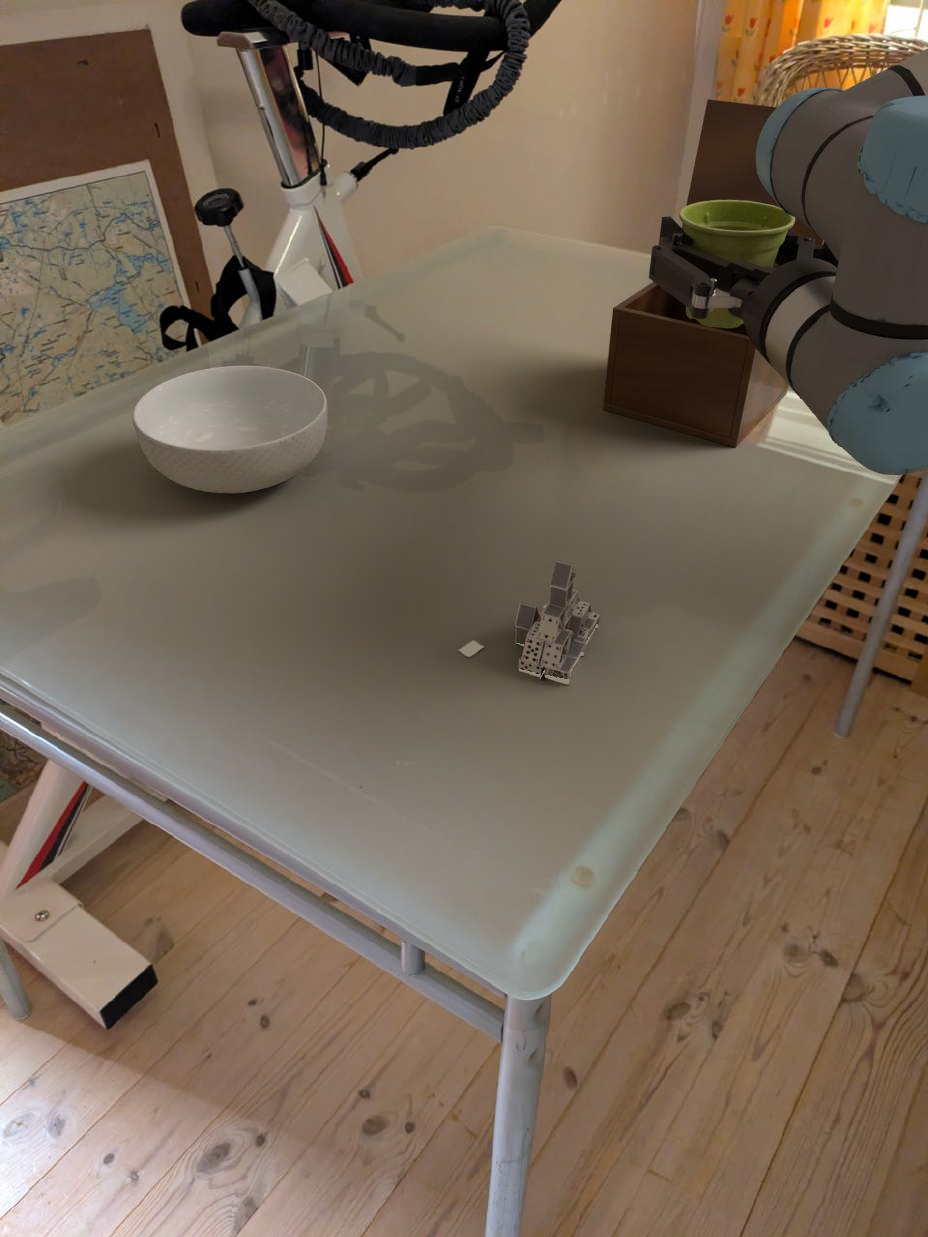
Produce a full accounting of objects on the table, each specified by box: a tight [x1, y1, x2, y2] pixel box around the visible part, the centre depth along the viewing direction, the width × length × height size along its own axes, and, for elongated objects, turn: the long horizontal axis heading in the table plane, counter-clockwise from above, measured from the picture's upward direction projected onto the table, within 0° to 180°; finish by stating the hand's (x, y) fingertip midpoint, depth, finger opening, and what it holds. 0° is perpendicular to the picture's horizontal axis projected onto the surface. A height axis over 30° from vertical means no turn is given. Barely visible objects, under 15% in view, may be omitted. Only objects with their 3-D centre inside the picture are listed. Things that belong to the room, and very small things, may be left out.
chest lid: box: [681, 98, 824, 269], centre depth 95 cm, size 15×15×1 cm
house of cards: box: [514, 560, 601, 681], centre depth 68 cm, size 9×9×8 cm
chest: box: [602, 281, 790, 448], centre depth 97 cm, size 15×15×11 cm
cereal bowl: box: [132, 365, 329, 494], centre depth 87 cm, size 17×17×7 cm
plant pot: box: [678, 200, 795, 328], centre depth 82 cm, size 9×9×9 cm
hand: (714, 230), depth 84 cm, fingers closed on plant pot, 8 cm apart
